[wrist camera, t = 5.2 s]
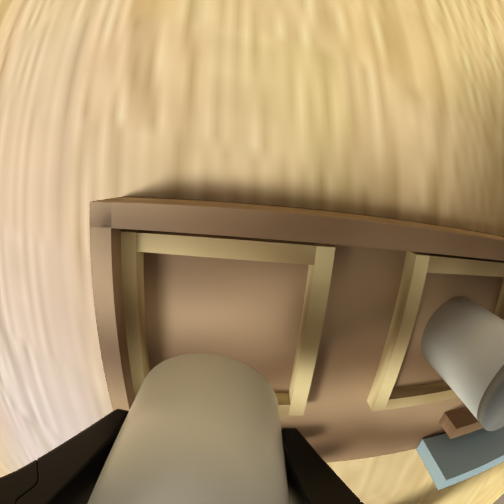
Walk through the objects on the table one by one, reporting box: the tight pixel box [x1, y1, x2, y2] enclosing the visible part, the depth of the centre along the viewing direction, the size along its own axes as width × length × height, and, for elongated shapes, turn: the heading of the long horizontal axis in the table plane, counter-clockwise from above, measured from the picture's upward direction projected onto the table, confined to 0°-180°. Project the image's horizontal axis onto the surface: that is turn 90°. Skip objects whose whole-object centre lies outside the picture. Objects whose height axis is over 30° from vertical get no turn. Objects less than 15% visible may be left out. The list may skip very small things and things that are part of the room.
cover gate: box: [416, 426, 504, 490], centre depth 14 cm, size 2×11×4 cm, turn 85°
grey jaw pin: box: [87, 353, 290, 504], centre depth 5 cm, size 4×4×7 cm
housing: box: [90, 197, 504, 462], centre depth 13 cm, size 16×31×6 cm, turn 86°
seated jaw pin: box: [421, 296, 504, 431], centre depth 11 cm, size 4×4×7 cm
